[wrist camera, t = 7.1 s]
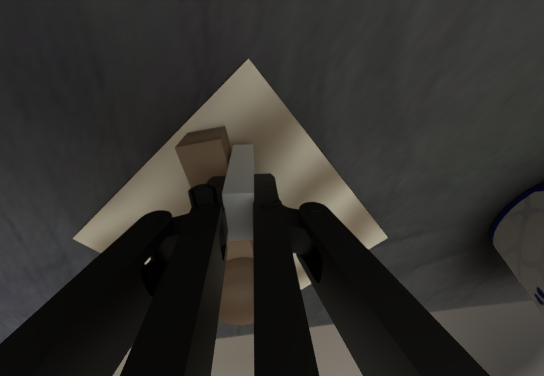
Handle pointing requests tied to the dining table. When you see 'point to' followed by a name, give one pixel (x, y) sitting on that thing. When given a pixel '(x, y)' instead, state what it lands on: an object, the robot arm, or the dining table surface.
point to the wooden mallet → (239, 264)
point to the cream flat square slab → (267, 159)
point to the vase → (523, 241)
